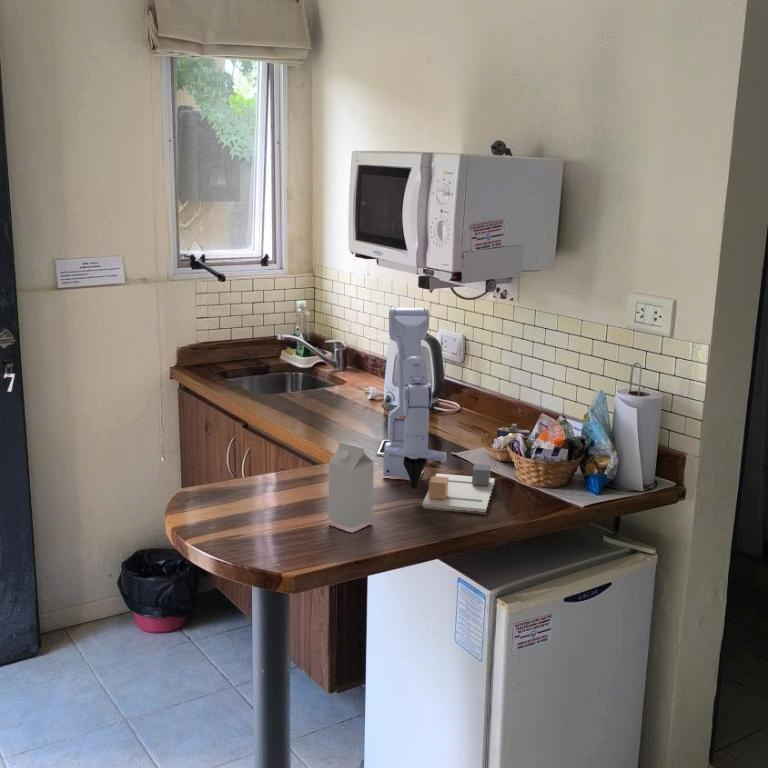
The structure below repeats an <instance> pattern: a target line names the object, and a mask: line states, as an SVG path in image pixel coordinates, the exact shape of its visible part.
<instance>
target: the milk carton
mask: <svg viewBox="0 0 768 768" xmlns="http://www.w3.org/2000/svg"><path fill="white" fill-rule="evenodd" d="M364 451H365V448H364V447H361V446H357V445H353V444H351V443H346V442H343V441H338V447H337V449H336V451H334V454H333V455H332V456H331V458H330V460H329V461H328V513H327V514H328V515H327V516H328V518H327V519H328V520H331V521H333V522H336V523H339V524H342V525H345V526H347V527H351V528H353V527H356V526H358V525H360V524H362V523H365V522H367V521H369V520H372V519H374V518H373V517H374V516H373V514H374V513H373V511H374V509H373V508H374V507H373V506H374V503H373V502H374V461H373V459H371V458H370V457H369V456H368V455H367V454H365V452H364Z"/></svg>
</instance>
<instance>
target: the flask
mask: <svg viewBox="0 0 768 768" xmlns="http://www.w3.org/2000/svg"><path fill="white" fill-rule="evenodd" d="M517 425H518V424H517V423H512V424H511V427H505V426H503V427H499V428H497V429H496V438H497V437H500V436H506V435H508V434H509V433H521V434H523V435H524V436H529V435H530V436H531V431H530V430H528V429H518V428H517Z"/></svg>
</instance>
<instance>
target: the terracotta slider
mask: <svg viewBox="0 0 768 768" xmlns="http://www.w3.org/2000/svg"><path fill="white" fill-rule="evenodd" d="M428 481H429V482H428V490H429V498H435V499H446V496H447V494H448V477H437V476H436V475H432V476H431V477H430V480H428Z"/></svg>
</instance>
